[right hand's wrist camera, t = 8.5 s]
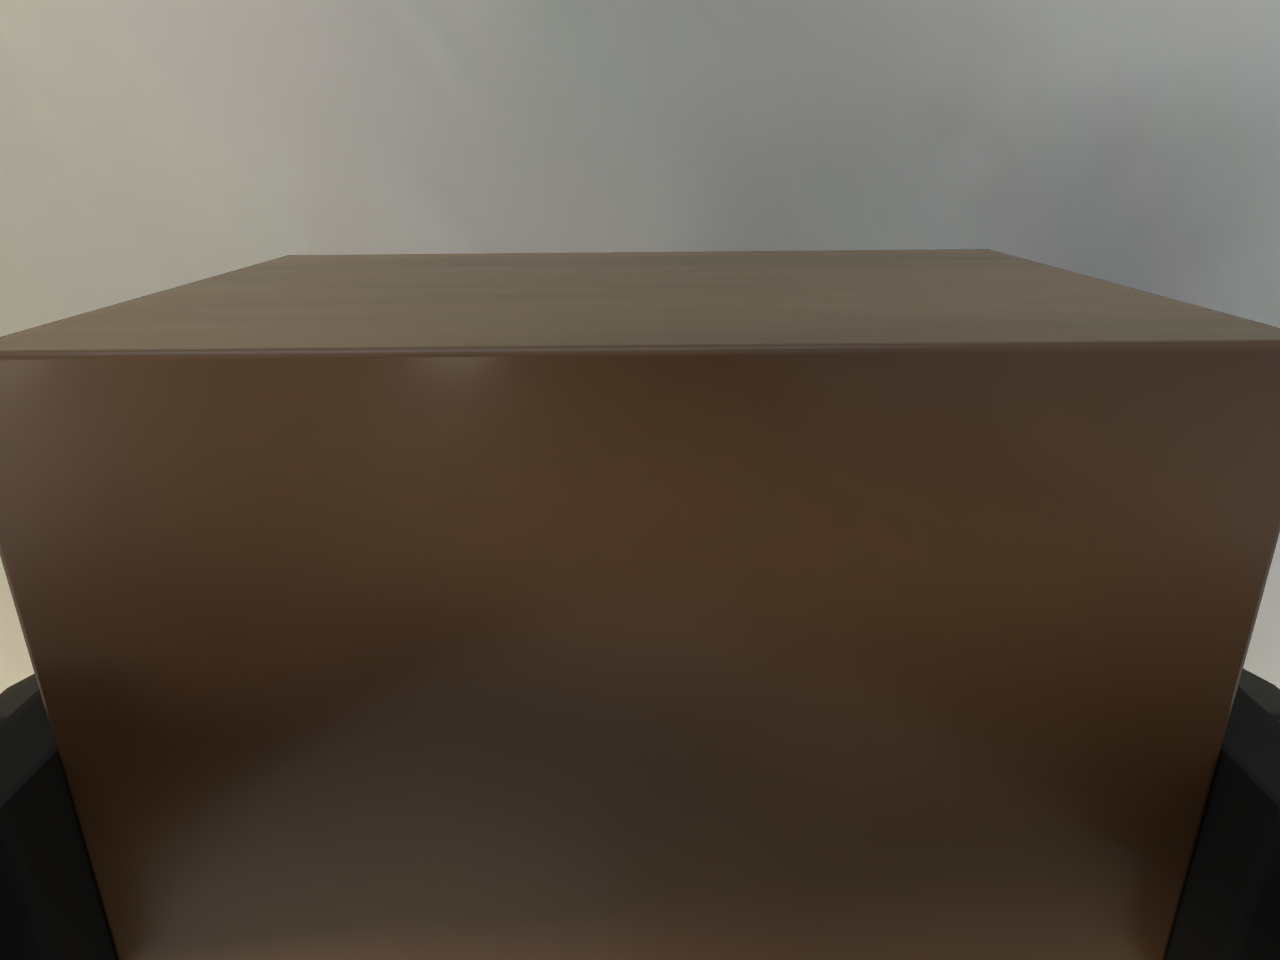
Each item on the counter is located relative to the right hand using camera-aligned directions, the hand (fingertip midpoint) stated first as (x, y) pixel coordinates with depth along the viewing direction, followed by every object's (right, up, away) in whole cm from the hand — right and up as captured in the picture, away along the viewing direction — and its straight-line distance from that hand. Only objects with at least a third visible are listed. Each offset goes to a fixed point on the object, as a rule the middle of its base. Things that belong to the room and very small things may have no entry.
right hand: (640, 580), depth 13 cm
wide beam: (0, -30, +12) cm, 33 cm away
